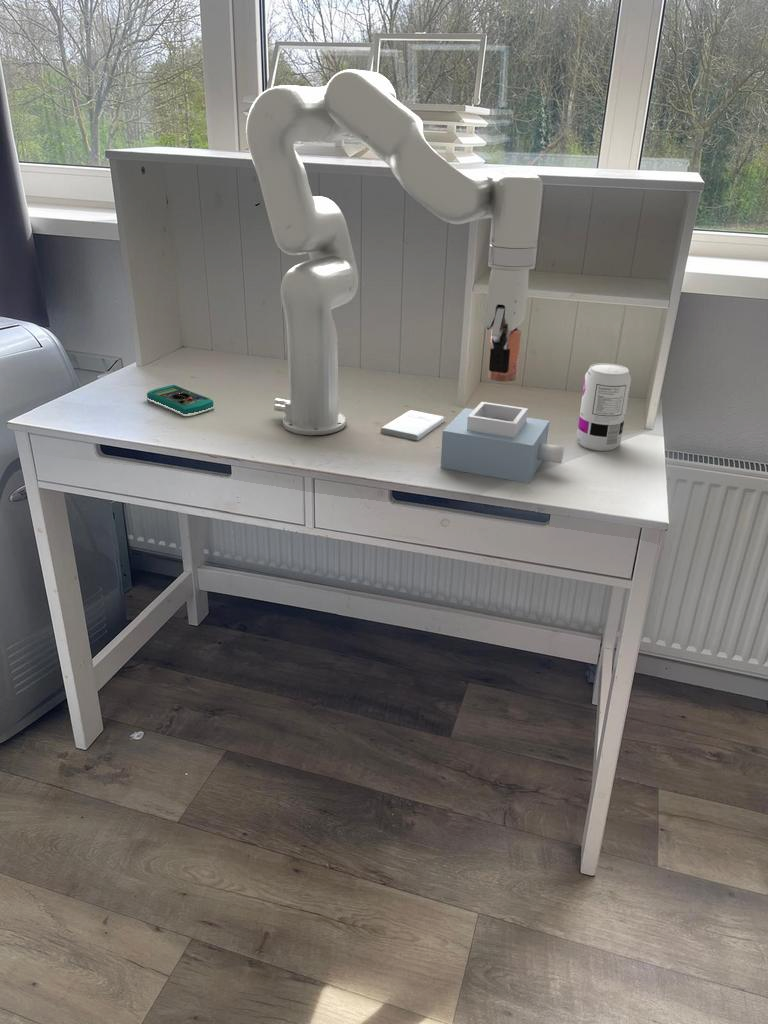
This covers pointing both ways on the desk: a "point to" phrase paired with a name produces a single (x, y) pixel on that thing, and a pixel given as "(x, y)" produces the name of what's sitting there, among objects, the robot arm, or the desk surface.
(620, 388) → the supplement can
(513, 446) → the gearbox
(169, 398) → the digital multimeter
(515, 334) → the orange gas canister
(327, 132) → the robot arm
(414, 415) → the external hard drive
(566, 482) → the desk surface
